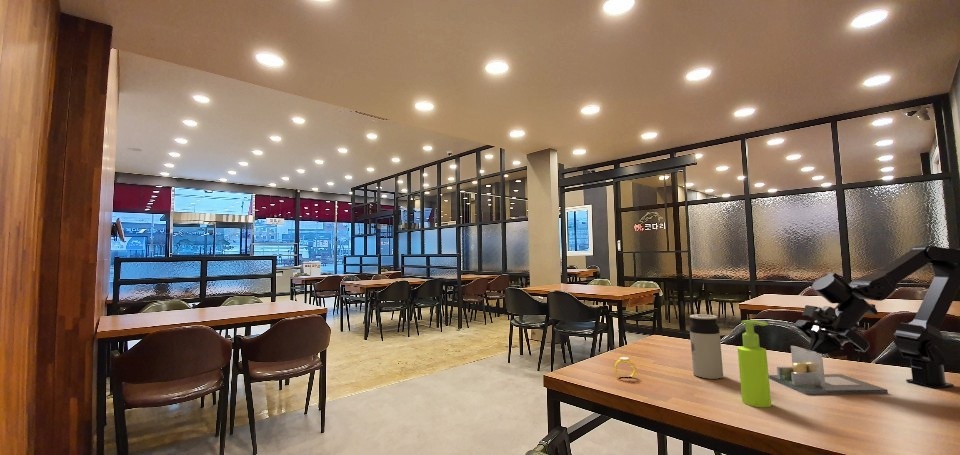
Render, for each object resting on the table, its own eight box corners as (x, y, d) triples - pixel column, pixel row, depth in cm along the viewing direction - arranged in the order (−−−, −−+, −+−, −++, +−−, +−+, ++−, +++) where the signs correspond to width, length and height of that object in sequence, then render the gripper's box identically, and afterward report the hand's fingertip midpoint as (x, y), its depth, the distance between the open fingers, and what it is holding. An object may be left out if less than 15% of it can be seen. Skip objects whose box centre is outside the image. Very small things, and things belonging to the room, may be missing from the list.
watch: (617, 379, 120) (614, 359, 121) (615, 377, 123) (612, 357, 123) (637, 378, 119) (634, 358, 120) (635, 376, 122) (632, 356, 123)
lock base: (841, 377, 114) (838, 356, 115) (888, 393, 100) (885, 369, 101) (769, 378, 115) (767, 357, 116) (805, 394, 102) (803, 370, 102)
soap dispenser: (767, 410, 92) (759, 323, 94) (737, 401, 98) (730, 320, 100) (781, 405, 95) (773, 321, 96) (750, 397, 101) (743, 317, 103)
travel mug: (723, 374, 121) (718, 314, 123) (723, 381, 115) (717, 318, 116) (694, 371, 126) (689, 313, 127) (692, 377, 119) (687, 316, 120)
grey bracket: (797, 375, 113) (794, 345, 114) (825, 386, 103) (822, 353, 104) (773, 376, 114) (770, 346, 114) (799, 387, 104) (796, 354, 104)
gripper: (797, 292, 119) (763, 330, 119) (851, 298, 101) (811, 343, 100) (827, 318, 118) (793, 356, 118) (888, 328, 100) (847, 374, 99)
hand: (809, 357), depth 109 cm, fingers closed, pressing on grey bracket
